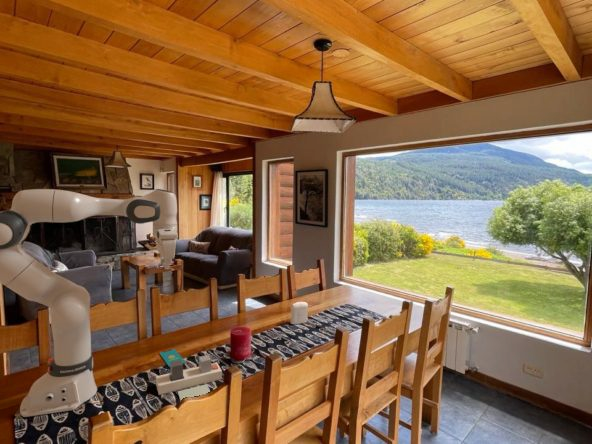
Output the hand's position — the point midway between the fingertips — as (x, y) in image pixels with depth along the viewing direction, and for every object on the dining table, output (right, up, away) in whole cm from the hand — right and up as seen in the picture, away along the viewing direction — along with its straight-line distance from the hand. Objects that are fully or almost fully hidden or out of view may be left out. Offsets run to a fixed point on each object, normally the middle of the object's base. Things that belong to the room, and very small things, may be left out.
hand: (165, 266), depth 133 cm
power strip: (+9, -46, +2) cm, 47 cm away
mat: (+13, -47, -6) cm, 49 cm away
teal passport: (-4, -44, +19) cm, 48 cm away
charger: (+5, -46, -1) cm, 47 cm away
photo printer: (+53, -42, +64) cm, 93 cm away
